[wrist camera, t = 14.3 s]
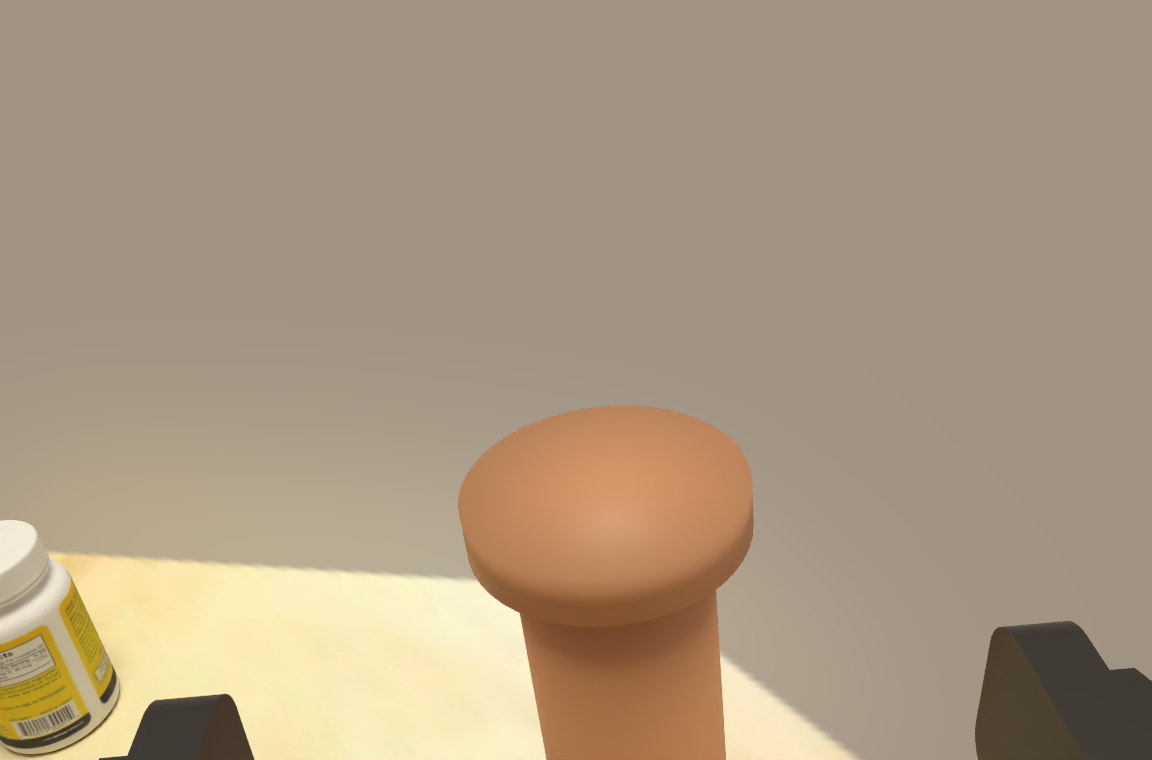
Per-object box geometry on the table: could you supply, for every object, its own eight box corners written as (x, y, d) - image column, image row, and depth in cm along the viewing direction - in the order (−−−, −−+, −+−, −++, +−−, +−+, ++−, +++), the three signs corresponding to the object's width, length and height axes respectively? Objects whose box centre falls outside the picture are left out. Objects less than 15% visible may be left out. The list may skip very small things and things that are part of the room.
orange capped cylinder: (538, 1055, 29) (425, 580, 21) (568, 851, 34) (489, 409, 26) (772, 1072, 28) (754, 580, 20) (765, 858, 33) (749, 401, 25)
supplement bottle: (67, 657, 46) (-8, 503, 41) (146, 683, 44) (76, 523, 39) (-27, 740, 42) (-120, 580, 38) (54, 773, 40) (-33, 607, 36)
